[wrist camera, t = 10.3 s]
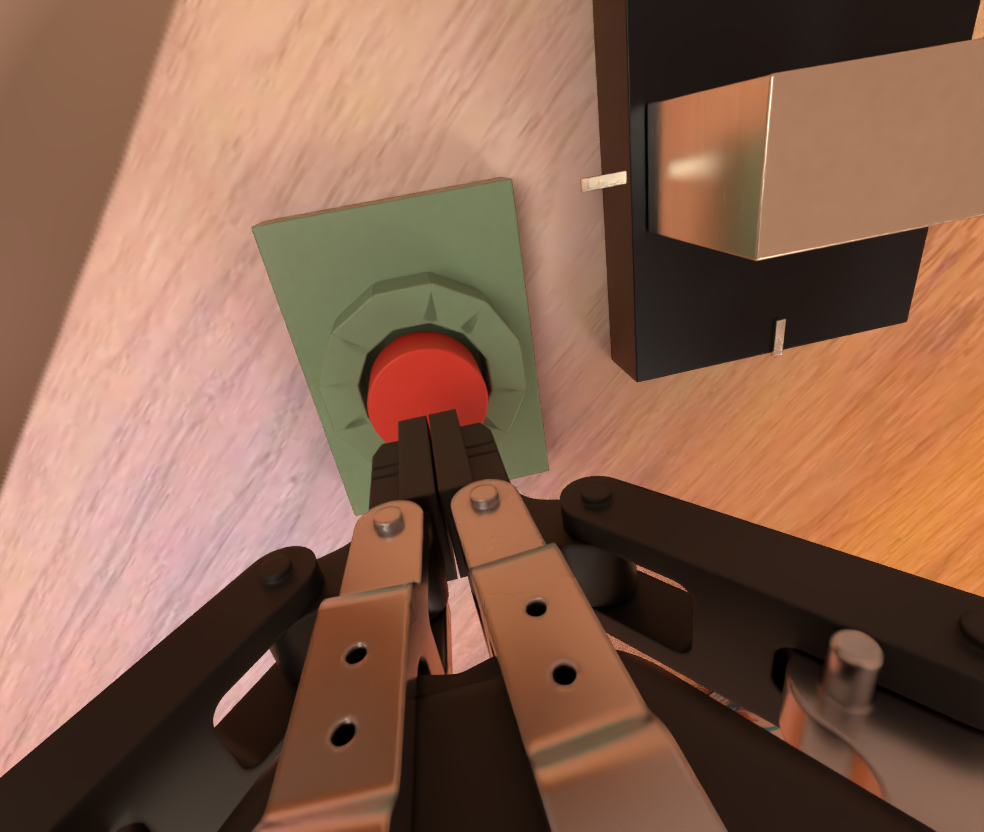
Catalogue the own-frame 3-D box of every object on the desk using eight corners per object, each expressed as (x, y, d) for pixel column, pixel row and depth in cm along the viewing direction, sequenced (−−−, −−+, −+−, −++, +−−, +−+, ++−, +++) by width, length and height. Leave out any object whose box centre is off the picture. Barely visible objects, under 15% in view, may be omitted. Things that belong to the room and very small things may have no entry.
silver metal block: (647, 233, 16) (762, 264, 11) (646, 103, 15) (780, 70, 10) (928, 179, 17) (1153, 185, 12) (957, 50, 16) (1231, -5, 10)
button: (355, 343, 16) (352, 363, 14) (469, 319, 16) (477, 336, 14) (385, 442, 17) (385, 469, 16) (488, 419, 18) (497, 443, 16)
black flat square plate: (532, -91, 14) (559, -142, 12) (983, -156, 15) (1089, -213, 13) (574, 370, 21) (597, 396, 19) (888, 301, 22) (948, 317, 20)
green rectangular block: (263, 221, 17) (233, 234, 13) (501, 176, 17) (525, 179, 14) (357, 492, 22) (351, 546, 19) (538, 450, 22) (562, 496, 19)
